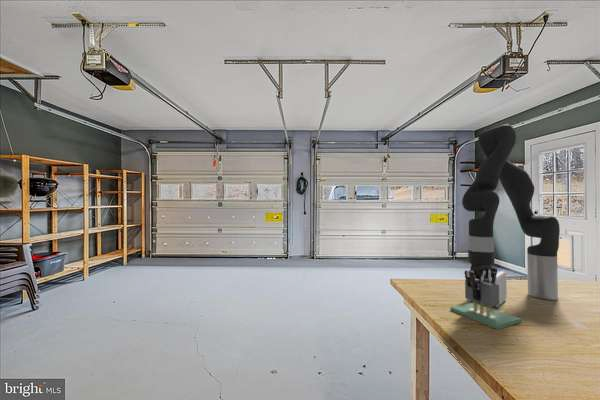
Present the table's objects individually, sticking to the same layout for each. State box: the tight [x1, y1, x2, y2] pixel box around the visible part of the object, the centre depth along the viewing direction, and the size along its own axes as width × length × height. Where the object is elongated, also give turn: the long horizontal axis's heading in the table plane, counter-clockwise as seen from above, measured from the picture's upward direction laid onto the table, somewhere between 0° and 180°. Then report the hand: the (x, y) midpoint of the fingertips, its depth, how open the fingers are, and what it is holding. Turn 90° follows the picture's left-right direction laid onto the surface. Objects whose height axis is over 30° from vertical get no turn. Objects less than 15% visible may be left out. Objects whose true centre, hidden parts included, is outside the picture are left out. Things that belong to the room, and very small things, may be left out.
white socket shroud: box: [464, 270, 508, 308], centre depth 107 cm, size 15×11×12 cm
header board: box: [450, 301, 522, 330], centre depth 93 cm, size 12×16×5 cm
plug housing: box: [464, 279, 500, 308], centre depth 93 cm, size 4×9×7 cm, turn 22°
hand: (481, 298), depth 93 cm, fingers closed on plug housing, 4 cm apart
